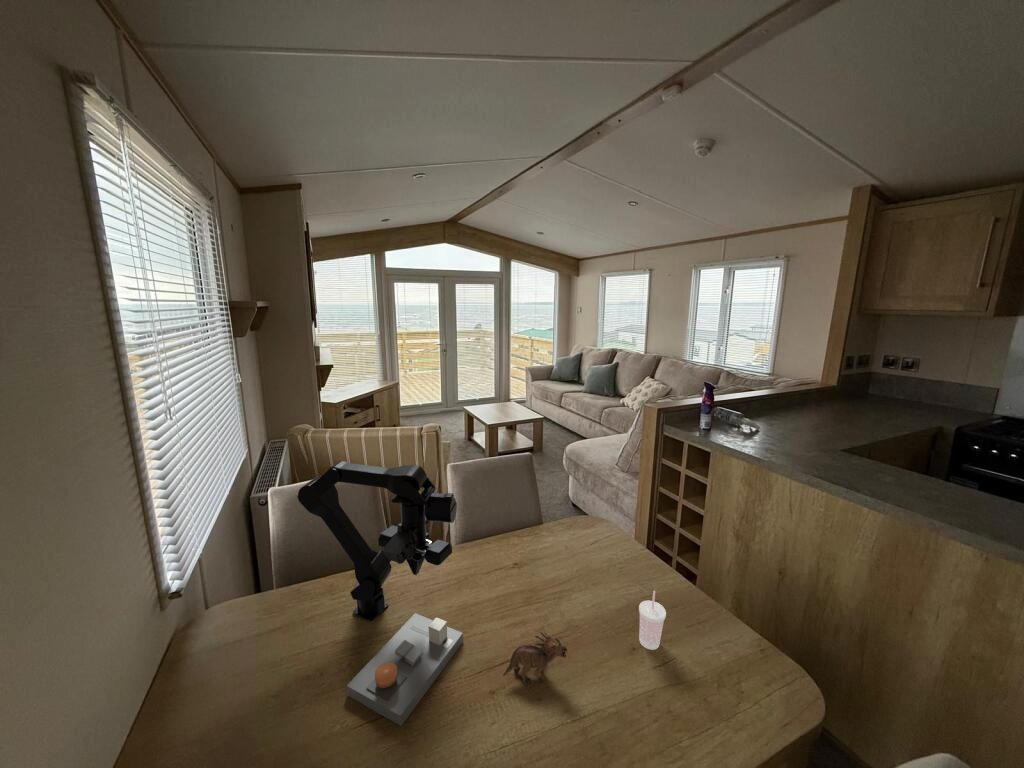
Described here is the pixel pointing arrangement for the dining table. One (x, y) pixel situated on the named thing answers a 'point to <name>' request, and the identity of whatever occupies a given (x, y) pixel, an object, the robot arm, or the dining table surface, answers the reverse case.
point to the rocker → (408, 652)
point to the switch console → (404, 671)
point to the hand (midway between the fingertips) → (415, 574)
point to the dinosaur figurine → (536, 656)
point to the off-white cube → (437, 631)
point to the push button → (386, 675)
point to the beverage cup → (651, 623)
